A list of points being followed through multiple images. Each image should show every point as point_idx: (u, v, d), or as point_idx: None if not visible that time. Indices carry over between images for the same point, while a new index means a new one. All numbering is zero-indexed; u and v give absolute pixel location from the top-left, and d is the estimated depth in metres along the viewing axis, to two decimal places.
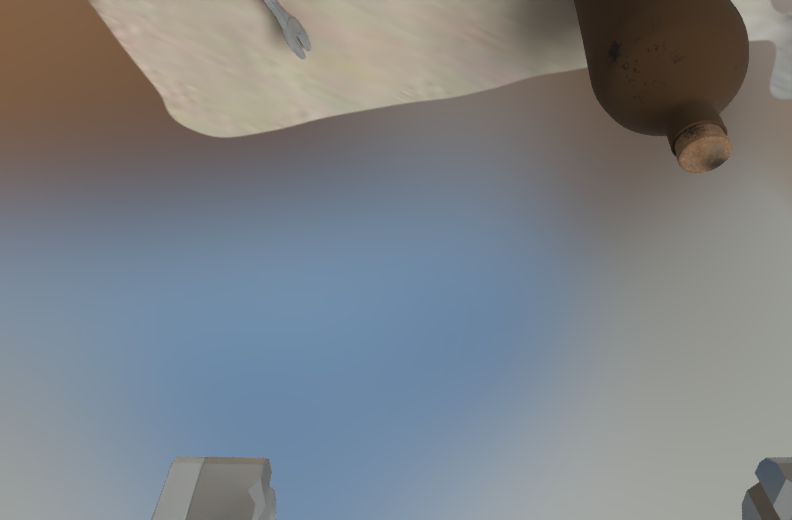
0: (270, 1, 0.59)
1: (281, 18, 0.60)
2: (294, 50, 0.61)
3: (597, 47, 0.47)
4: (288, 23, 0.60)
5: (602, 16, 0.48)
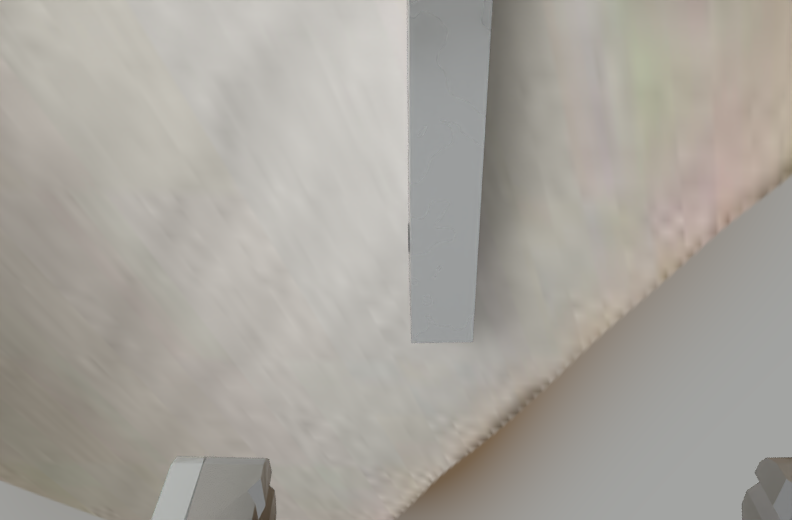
0: None
1: None
2: None
3: None
4: None
5: None
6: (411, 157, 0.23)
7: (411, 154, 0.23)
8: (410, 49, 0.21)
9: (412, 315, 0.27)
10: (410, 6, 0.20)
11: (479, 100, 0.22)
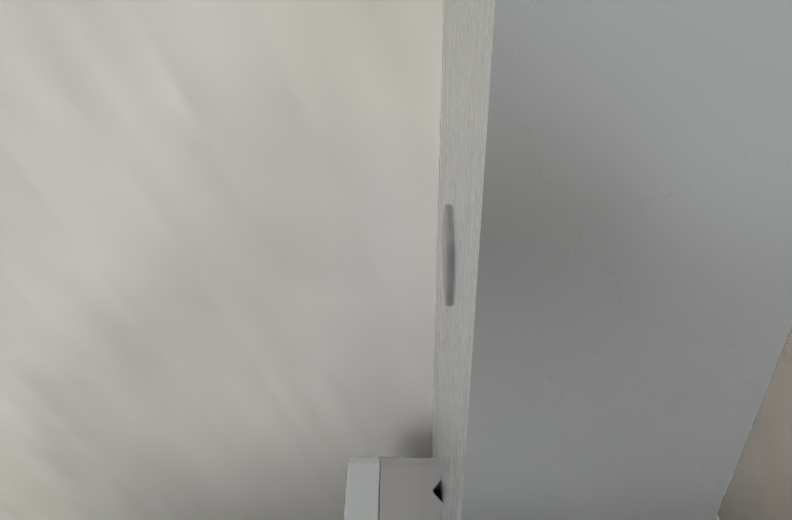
0: None
1: None
2: None
3: None
4: None
5: None
6: None
7: None
8: None
9: None
10: (470, 437, 0.06)
11: None
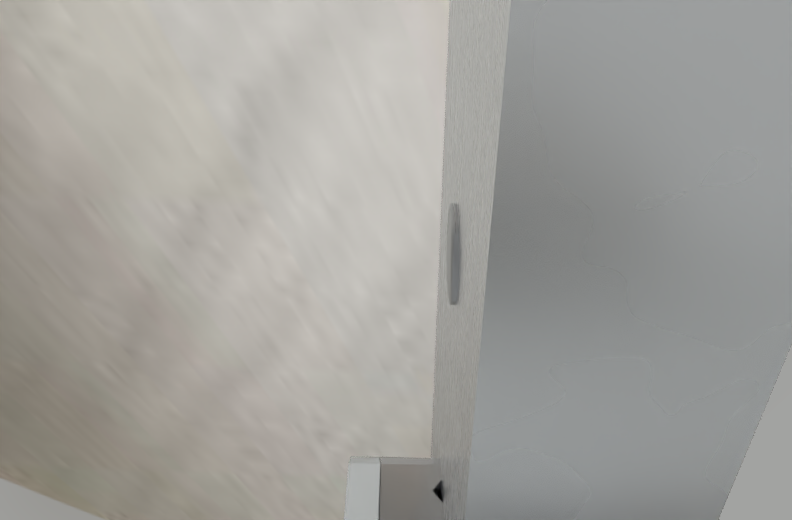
0: None
1: None
2: None
3: None
4: None
5: None
6: None
7: None
8: None
9: None
10: (476, 435, 0.06)
11: None
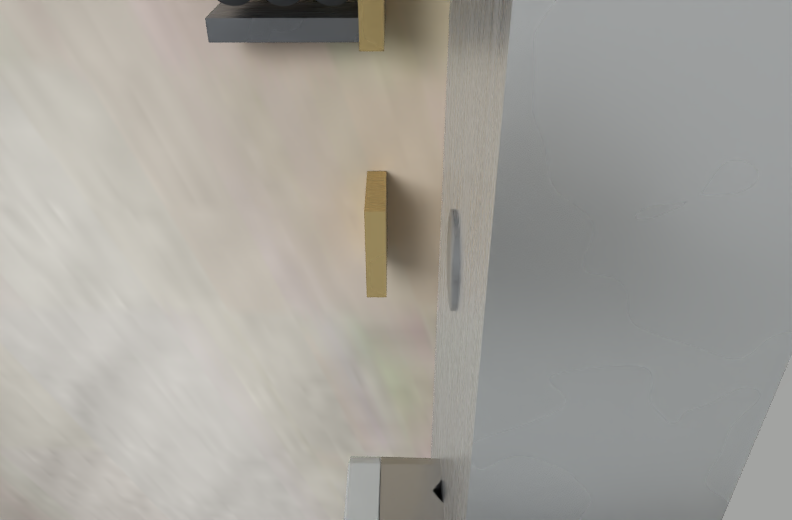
0: None
1: None
2: None
3: None
4: None
5: None
6: None
7: None
8: None
9: None
10: (475, 443, 0.06)
11: None
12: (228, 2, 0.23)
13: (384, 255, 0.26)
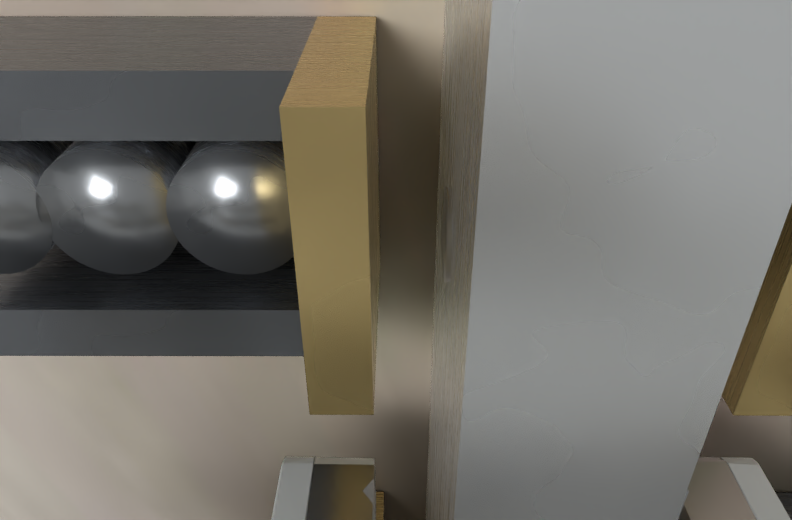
0: None
1: None
2: None
3: None
4: None
5: None
6: None
7: None
8: None
9: None
10: (466, 395, 0.07)
11: None
12: None
13: None
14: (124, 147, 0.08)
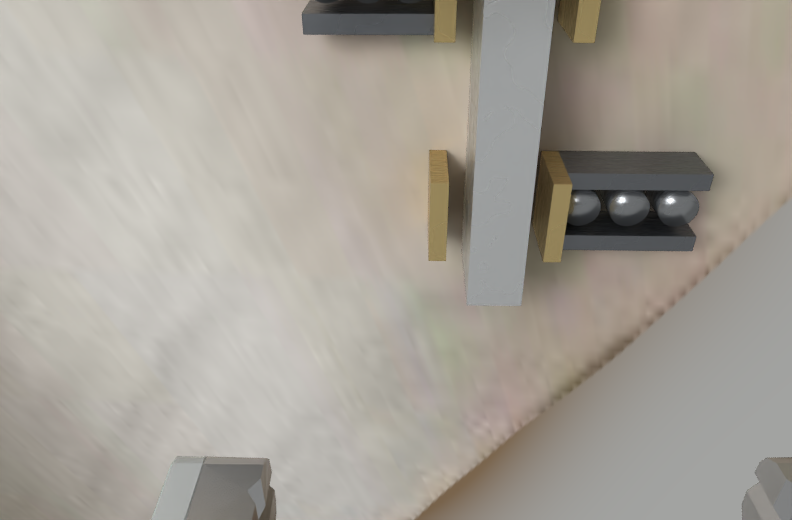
0: None
1: None
2: None
3: None
4: None
5: None
6: (477, 138, 0.26)
7: (477, 136, 0.26)
8: (482, 45, 0.24)
9: (469, 280, 0.30)
10: (484, 8, 0.24)
11: (539, 89, 0.25)
12: (321, 0, 0.26)
13: (446, 222, 0.30)
14: None
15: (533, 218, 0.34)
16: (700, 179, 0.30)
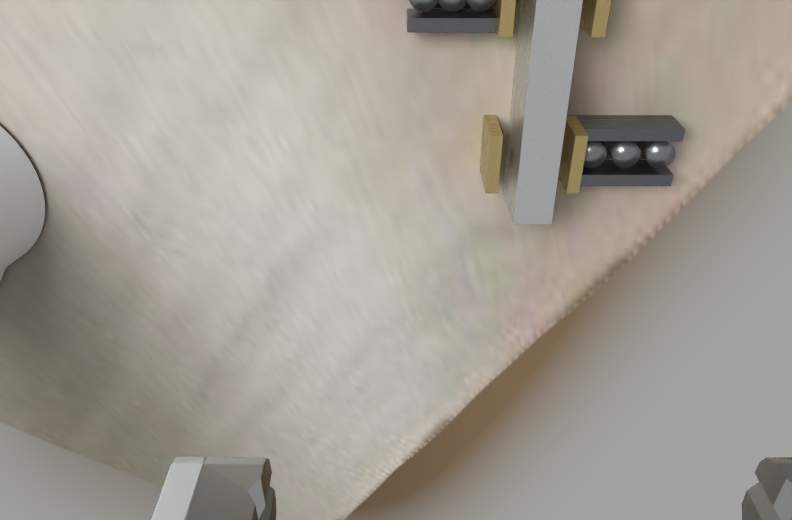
0: None
1: None
2: None
3: None
4: None
5: None
6: (526, 102, 0.39)
7: (526, 100, 0.39)
8: (532, 39, 0.37)
9: (515, 205, 0.43)
10: (535, 15, 0.36)
11: (569, 68, 0.38)
12: (420, 9, 0.39)
13: (499, 164, 0.43)
14: None
15: None
16: (676, 133, 0.43)
